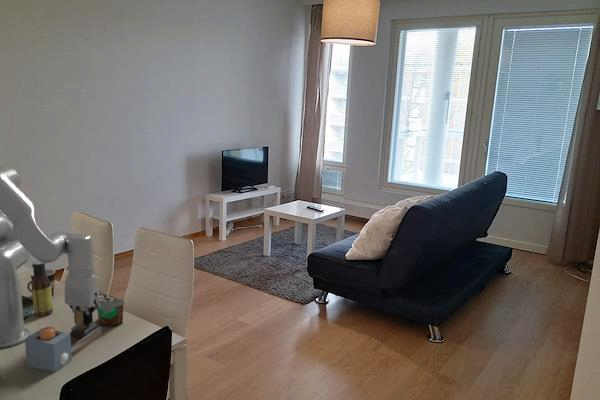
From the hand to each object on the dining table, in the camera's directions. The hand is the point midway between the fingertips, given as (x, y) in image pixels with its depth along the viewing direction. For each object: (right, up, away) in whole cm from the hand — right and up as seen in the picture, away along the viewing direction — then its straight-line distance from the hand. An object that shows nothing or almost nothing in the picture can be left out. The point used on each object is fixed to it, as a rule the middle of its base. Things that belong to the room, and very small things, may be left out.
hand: (83, 322), depth 161 cm
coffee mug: (-31, +2, +31) cm, 43 cm away
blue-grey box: (-4, -9, -14) cm, 17 cm away
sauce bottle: (-23, -1, +18) cm, 29 cm away
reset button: (-4, -2, -15) cm, 16 cm away
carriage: (0, -4, +1) cm, 4 cm away
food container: (+3, -4, +12) cm, 13 cm away
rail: (-1, -6, -3) cm, 7 cm away
